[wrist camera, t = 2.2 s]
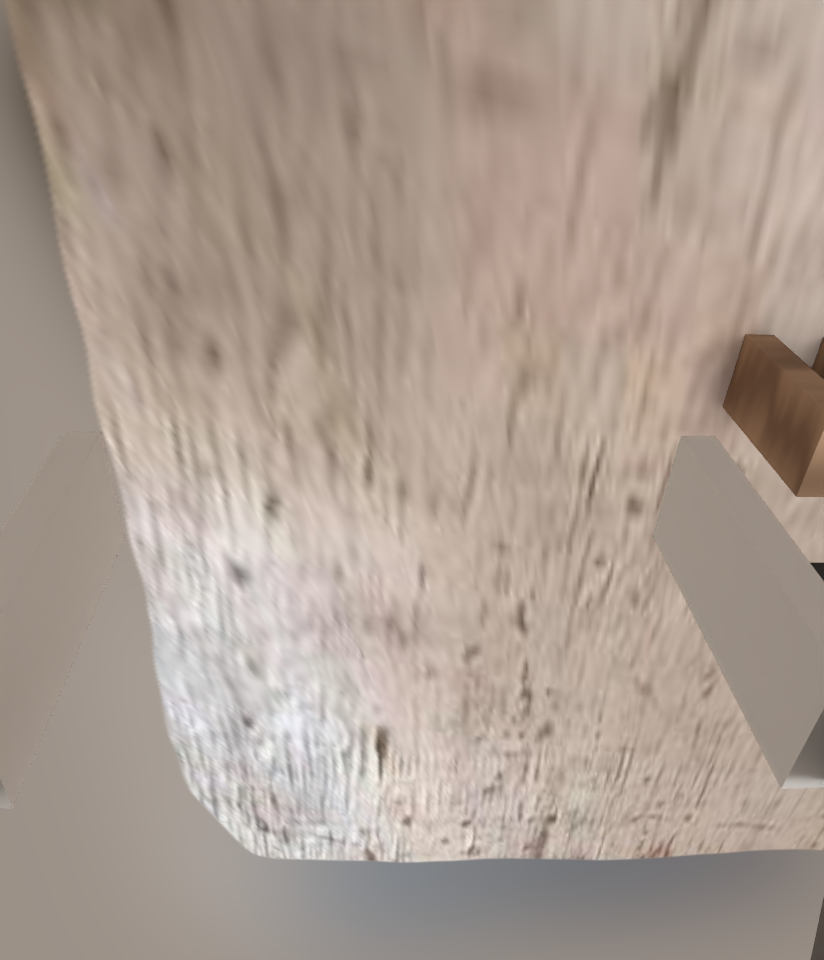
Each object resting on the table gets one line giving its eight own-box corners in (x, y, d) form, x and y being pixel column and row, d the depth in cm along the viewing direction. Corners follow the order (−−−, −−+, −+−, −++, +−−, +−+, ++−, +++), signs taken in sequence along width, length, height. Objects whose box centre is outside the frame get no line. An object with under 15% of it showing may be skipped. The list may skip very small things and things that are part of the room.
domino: (745, 334, 46) (829, 415, 38) (773, 335, 46) (863, 415, 38) (722, 406, 49) (796, 496, 41) (749, 407, 49) (828, 496, 41)
